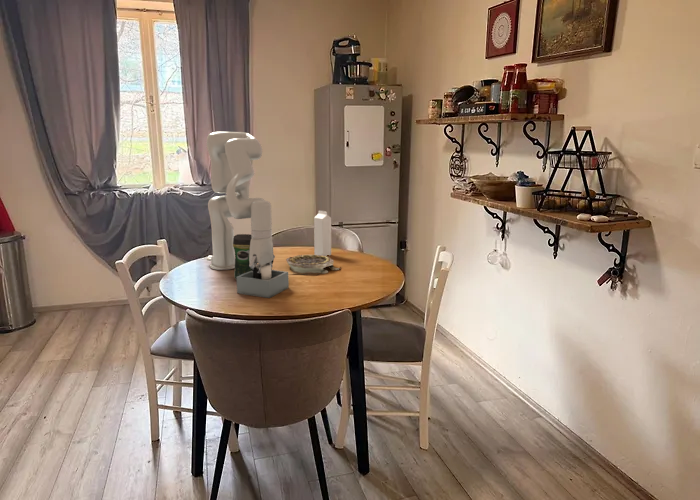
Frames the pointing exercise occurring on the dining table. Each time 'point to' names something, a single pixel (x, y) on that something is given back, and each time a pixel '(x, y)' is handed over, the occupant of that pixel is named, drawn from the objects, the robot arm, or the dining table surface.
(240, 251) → the coffee jar
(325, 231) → the milk
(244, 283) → the tub
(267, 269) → the cream rounded block
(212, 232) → the robot arm
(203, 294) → the dining table surface
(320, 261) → the pie
